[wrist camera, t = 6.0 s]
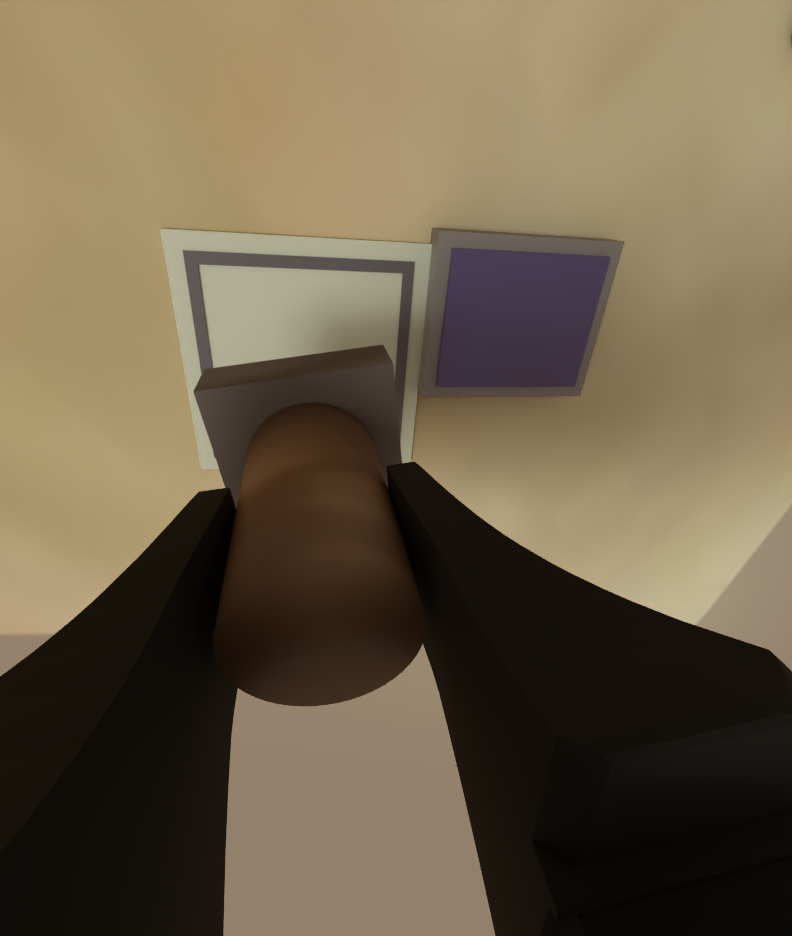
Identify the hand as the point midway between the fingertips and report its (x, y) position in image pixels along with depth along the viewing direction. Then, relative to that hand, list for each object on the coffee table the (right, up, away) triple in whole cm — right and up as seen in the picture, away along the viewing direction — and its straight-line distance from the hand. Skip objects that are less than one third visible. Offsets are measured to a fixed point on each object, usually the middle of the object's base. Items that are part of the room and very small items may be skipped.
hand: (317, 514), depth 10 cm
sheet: (-2, +5, +8) cm, 10 cm away
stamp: (-1, +2, +3) cm, 4 cm away
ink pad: (+6, +7, +9) cm, 13 cm away
